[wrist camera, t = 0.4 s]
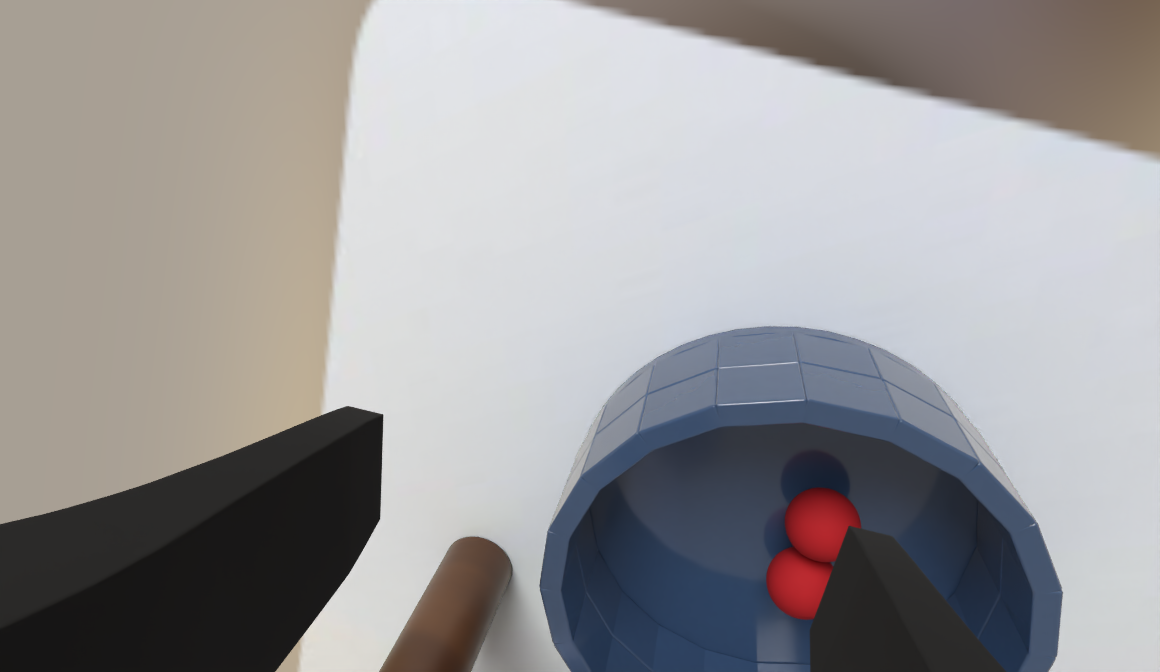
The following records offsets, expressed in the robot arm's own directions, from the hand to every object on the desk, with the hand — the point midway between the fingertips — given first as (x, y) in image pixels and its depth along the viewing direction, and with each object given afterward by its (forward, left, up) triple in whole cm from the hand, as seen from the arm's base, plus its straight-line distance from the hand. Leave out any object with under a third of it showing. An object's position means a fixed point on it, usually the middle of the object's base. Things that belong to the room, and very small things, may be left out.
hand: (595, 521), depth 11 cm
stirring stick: (-11, +4, -10) cm, 15 cm away
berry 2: (-7, -6, -8) cm, 12 cm away
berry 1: (-5, -6, -8) cm, 11 cm away
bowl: (-6, -5, -10) cm, 12 cm away
